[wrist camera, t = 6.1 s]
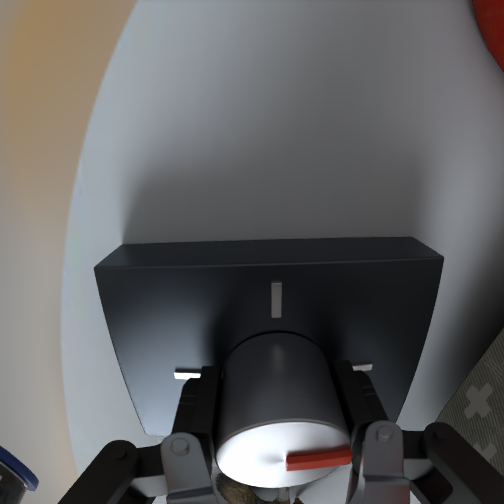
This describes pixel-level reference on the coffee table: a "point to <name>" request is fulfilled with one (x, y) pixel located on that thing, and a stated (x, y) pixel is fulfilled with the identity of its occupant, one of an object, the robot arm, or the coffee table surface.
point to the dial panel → (265, 309)
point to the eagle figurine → (248, 493)
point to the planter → (481, 406)
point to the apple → (492, 26)
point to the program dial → (279, 414)
